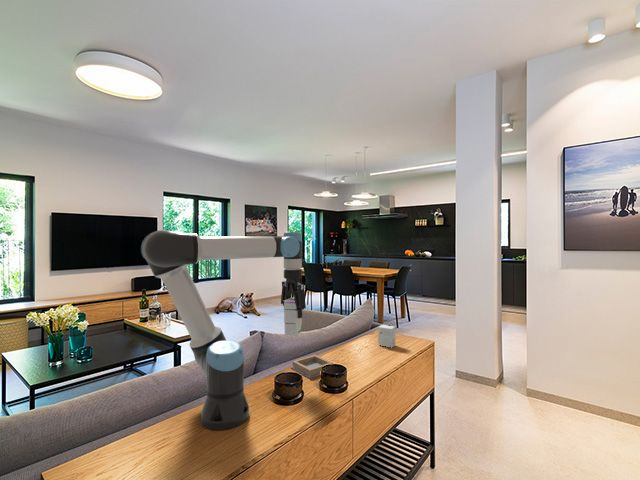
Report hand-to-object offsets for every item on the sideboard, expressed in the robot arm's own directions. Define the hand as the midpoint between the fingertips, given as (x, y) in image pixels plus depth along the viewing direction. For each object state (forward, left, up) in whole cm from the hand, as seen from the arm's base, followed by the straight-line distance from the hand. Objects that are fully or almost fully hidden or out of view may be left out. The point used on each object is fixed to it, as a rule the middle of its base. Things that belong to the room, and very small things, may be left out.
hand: (292, 323), depth 135 cm
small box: (+64, +3, -23) cm, 68 cm away
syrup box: (0, 0, -4) cm, 4 cm away
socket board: (+13, +3, -23) cm, 27 cm away
